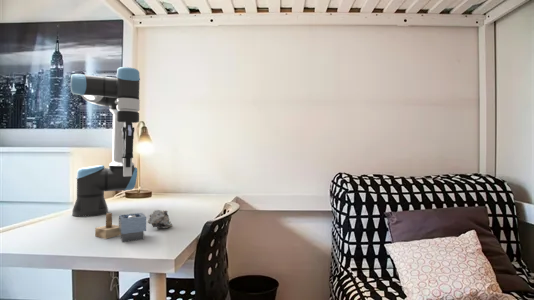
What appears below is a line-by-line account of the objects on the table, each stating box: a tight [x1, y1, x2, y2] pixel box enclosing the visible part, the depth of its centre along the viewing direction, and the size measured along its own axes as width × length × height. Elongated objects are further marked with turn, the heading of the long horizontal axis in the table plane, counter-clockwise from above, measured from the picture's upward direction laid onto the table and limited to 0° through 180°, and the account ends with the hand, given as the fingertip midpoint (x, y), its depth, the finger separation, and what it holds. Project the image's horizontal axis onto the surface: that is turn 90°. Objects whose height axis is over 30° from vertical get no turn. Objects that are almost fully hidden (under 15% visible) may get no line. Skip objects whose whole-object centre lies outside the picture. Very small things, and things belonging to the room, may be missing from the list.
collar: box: [118, 212, 147, 234], centre depth 109 cm, size 8×8×5 cm
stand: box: [94, 212, 121, 240], centre depth 113 cm, size 6×6×8 cm
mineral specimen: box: [147, 209, 173, 229], centre depth 124 cm, size 10×8×10 cm
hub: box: [120, 215, 145, 243], centre depth 109 cm, size 7×7×8 cm
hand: (127, 176), depth 111 cm, fingers closed
